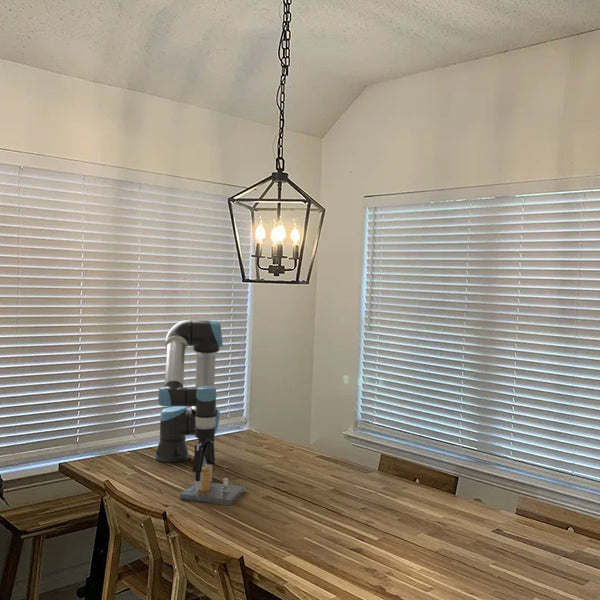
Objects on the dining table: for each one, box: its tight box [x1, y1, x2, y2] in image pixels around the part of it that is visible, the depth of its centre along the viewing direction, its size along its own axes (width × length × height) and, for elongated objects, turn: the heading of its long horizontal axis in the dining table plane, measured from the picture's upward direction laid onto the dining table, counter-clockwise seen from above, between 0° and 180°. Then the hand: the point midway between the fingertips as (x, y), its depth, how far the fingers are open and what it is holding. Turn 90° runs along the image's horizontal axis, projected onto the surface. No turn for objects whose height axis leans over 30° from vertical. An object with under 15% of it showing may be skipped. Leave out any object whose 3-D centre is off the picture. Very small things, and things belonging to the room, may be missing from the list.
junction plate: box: [179, 477, 245, 506], centre depth 240 cm, size 16×20×7 cm
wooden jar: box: [197, 467, 212, 491], centre depth 241 cm, size 5×5×8 cm
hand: (203, 484), depth 241 cm, fingers open, 9 cm apart
